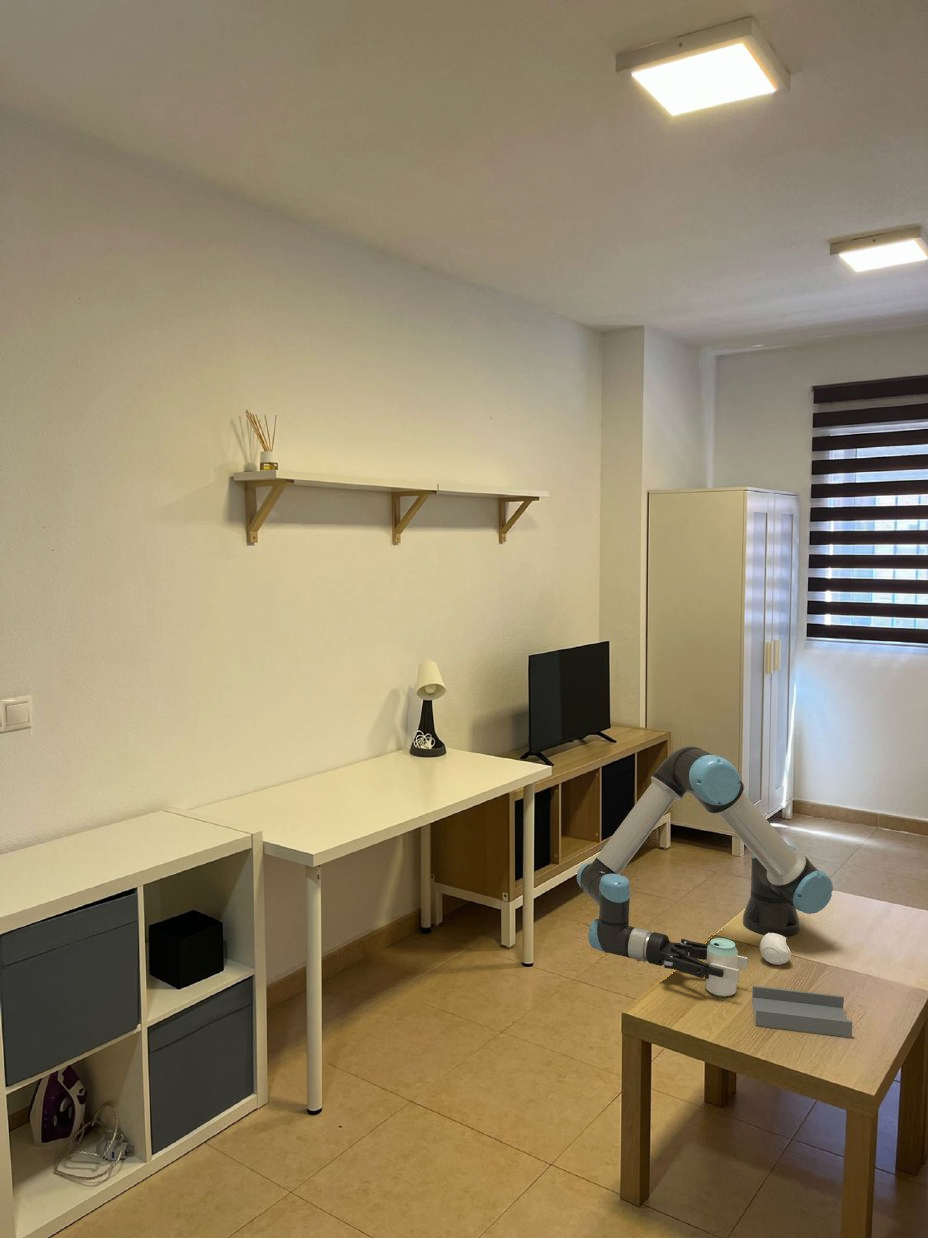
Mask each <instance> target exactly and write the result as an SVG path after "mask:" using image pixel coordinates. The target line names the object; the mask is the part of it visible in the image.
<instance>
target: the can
mask: <svg viewBox="0 0 928 1238" xmlns="http://www.w3.org/2000/svg"><path fill="white" fill-rule="evenodd" d="M738 953H739V951H738V949H737V947H736V943H735V942H734V941H732V940H731V939H727V938H722V937H716V938H713V939H711V940H710V941H709V944H708V947H707V960H706V963H707V964H709V965H710V964H711V963H714V964H718V965H722V966H726V967H730V968H734V969H738V968H737V960H738V955H739V954H738ZM737 983H738V982H735V981H731V980H727V979H723V978H719V977H715V976H711V975H710V974H709V979H705V989H706V991H707V992H709V993H710V994H711V995H714V996H716V997H722V998H723V997H724V998H727V996H728V997H731V996H732V995H734V994H736V993H737Z"/></svg>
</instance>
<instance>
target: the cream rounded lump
mask: <svg viewBox="0 0 928 1238" xmlns="http://www.w3.org/2000/svg"><path fill="white" fill-rule="evenodd" d="M759 943H760V944H759V950H760V953H761V956H762V957H763V959H764V960H765V961H766V962H768V963H770V964H772V965H776V966H777V965H783V964H786V963H788V962H789V961H790V959H791V957H792V955H793V954H792V953H793V952H792V951H791V950H790V948H789V946H788V945H787V937H786V936H782V935H779V934H776V933H767V934H766V935H765V934H764V935H763V936H762V938H761V940H760V942H759Z"/></svg>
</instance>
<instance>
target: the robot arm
mask: <svg viewBox="0 0 928 1238" xmlns="http://www.w3.org/2000/svg"><path fill="white" fill-rule="evenodd" d="M650 778H651V783H650V784H649V786H648V787H647V788H646V790H645V791H644V792H643V794H642V795H641V797H640V798H639V800H638V801H637V802H636V803H635V805H634V806H633V807H632V809H631V810H630V811H629V813H628V814H627V816H626V817H625V818H624V819H623V821H622V822H621V824H620V825H619V827H618V828H617V829H616V830H615V831H614V833H613V835H612V836H611V837H610V838H609V840H607V841H608V842H606V844H605V845H604V847H603V848H602V849H601V850H600V852H599V853H598V855H597V856H596V857H595V859H594V860H593V861H592V862H586V863H584V864H583V865H581V866H580V867H579V868H578V870H577V872H576V873H577V874H576V881H577V884H578V886H579V887H580V888H581V889H582V890H583V893H585V894H586V895H588V896H589V897H590V898H591V899H592V900H593V901H594V902H595V903H596V904H597V905H598V907H599V909H598V911H599V913H598V918H595V919H593V920H592V922H591V923H590V925H589V930H588V931H589V932H588V934H587V935H588V937H587V938H588V939H587V940H588V944H589V945H590V947H591V948H592V949H595V950H597V951H601V952H604V953H605V954H613V955H617V956H621V957H624V958H628V959H632V960H636V962H637V963H638V962H643V963H644V962H645V963H646V962H647V963H648V964H651V965H655V966H660V967H662V966H663V967H664V968H665V969H670V970H675V971H676V972H677V971H678V972H681V973H685V974H687V975H691V976H694V977H697V978H700V979H705V980H706V979H709V974H710V975H711V976H715V977H719V978H723V979H727V980H731V981H735V982H737V983H738V982H739V978H740V969H742V970H744V971H746V970H748V963H749V962H748V961H749V958H748V957H746V956H742V955H739V954H738V960H737V969H734V968H730V967H726V966H722V965H718V964H714V963H711V964H710V965H709V964H707V962H704V960H705V961H707V947H708V945H709V944H707V943H703V942H697V941H691V940H689V939H686V938H681V939H680V942H671V940H670V939H669V936H668V935H667V934H664V933H661V932H656V931H653V932H652V931H651V930H649V929H644V928H639V927H634V926H630V924H629V921H630V903H631V902H630V901H631V900H630V899H631V888H630V887H631V886H630V884H631V883H630V880H629V878H628V877H626V876H624V875H622V874H621V873H622V872H623V871H624V869H625V868H626V867H627V866H628V864H629V862H630V861H631V860H632V859H633V857H634V856H635V855H636V853H637V852H638V851H639V850H640V848H641V847H642V845H643V844H644V843H645V841H646V840H647V838H649V836H650V835H651V833H652V831H653V830H654V829H655V828H656V827H657V826H658V824H659V823H660V821H662V818H663V817H664V816H665V814H666V813H667V812H668V810H669V809H670V807H671V806H672V805H673V804H674V802H676V801H679V800H680V801H681V799H682V798H683V797H684V796H685V794H687V792H688V793H690V794H691V795H692V796H693V797H694V798H695V799H696V800H697V801H698V802H699V803H700V804H701V806H703V808H705V811H707V812H708V813H709V814H712V815H718V816H719V817H720V818H721V819H722V820H723V821H724V822H725V824H726V825H727V826H728V827H729V828H730V830H732V832H733V833H734V834H735V836H737V838H738V839H739V840H740V841H741V842H742V843H743V844H744V845H745V847H746V848H747V849H748V850H749V851H750V852H751V853H752V854H751V870H750V871H751V873H750V874H751V875H750V896H749V898H748V902H747V904H746V907H745V909H744V911H743V914H742V923H743V926H745V927H746V928H747V929H749V930H750V931H752V932H755V933H758V934H762V935H764V936H765V935H766V934H767V933H776V934H779V935H782V936H784V937H789V936H793V935H795V934H798V933H799V931H800V924H801V923H800V918H799V914H798V911H799V912H801V913H804V914H808V915H811V914H816V913H819V912H821V911H823V909H825V908H826V906H827V905H828V904H829V903H830V902H831V899H832V897H833V894H832V892H833V890H834V887H833V882H832V880H831V878H830V877H829V876H828V874H826V872H824V871H822V870H819V869H818V868H817V867H816V866H815V865H814V864H813V863H812V862H811V860H809V858H808V857H807V856H806V855H805V854H804V852H802V851H801V850H798V849H796V847H795V846H792V845H790V844H788V843H787V842H786V840H785V839H784V838H783V837H782V836H781V835H780V834H779V832H778V831H777V830H776V829H775V828H774V826H773V825H772V824H771V823H770V822H769V820H768V819H766V817H765V816H764V815H763V814H762V812H760V810H759V809H758V807H756V806H755V803H753V802H752V801H751V800H750V799H749V798H748V796H747V795H746V794H745V785H744V783H743V781H741V775H740V772H739V771H738V768H736V767H735V766H734V764H732V763H731V762H730V761H729V760H727V759H726V758H725V757H722V756H721V755H717V754H716V755H715V754H713V753H711V752H709V751H706V750H705V749H702V748H700V747H697V746H685V747H684V746H683V747H681V748H679V749H676V750H675V751H674V752H672V753H671V754H670V755H668V757H666V759H664V761H662V762H661V764H660V765H659V766H658V767H657V769H656V770H655V771H654V773H653V774H652V775H651V776H650Z"/></svg>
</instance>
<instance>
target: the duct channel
mask: <svg viewBox="0 0 928 1238" xmlns="http://www.w3.org/2000/svg"><path fill="white" fill-rule="evenodd" d="M751 989H752V991H751V992H752V993H751V1002H752V1010H753V1015H754V1022H755V1023H754V1025H755V1027H763V1028H771V1029H777V1030H785V1029H786V1031H794V1032H801V1033H810V1034H817V1035H823V1036H824V1035H826V1036H832V1037H833V1036H834V1037H839V1038H841V1037H842V1038H848V1039H852V1038H853V1036H852V1035H853V1020H848V1019H847V1015H846V1012H845V1009H844V1003H845V1002H844V1001H845V999H844V998H845V997H844V996H843V995H838V994H830V993H823V992H822V993H821V992H820V993H819V992H812V991H806V990H805V991H804V990H794V989H787V988H779V987H770V986H769V987H768V986H761V985H752V988H751Z"/></svg>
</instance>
